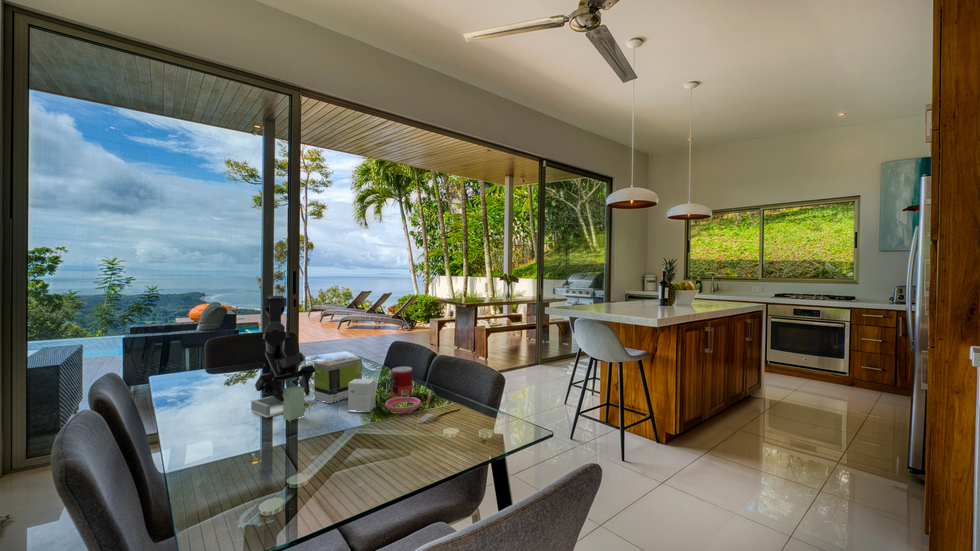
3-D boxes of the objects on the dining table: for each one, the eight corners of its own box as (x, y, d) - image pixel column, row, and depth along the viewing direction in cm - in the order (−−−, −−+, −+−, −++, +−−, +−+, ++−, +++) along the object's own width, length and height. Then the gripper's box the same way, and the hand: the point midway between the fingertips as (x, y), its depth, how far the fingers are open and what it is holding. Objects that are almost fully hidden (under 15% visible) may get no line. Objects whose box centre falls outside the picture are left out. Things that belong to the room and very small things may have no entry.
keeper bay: (251, 411, 149) (251, 400, 149) (280, 404, 157) (280, 393, 157) (266, 417, 143) (266, 406, 143) (295, 409, 152) (295, 398, 152)
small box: (375, 408, 154) (375, 379, 154) (369, 413, 148) (370, 383, 148) (354, 407, 155) (354, 378, 155) (347, 412, 149) (347, 382, 149)
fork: (462, 416, 154) (463, 408, 154) (420, 426, 138) (420, 417, 138) (456, 414, 156) (457, 407, 156) (414, 424, 139) (414, 415, 140)
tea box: (347, 390, 175) (347, 355, 175) (362, 395, 169) (362, 358, 169) (313, 399, 163) (313, 361, 163) (329, 405, 157) (329, 365, 157)
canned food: (415, 394, 171) (415, 367, 171) (405, 400, 163) (405, 371, 163) (398, 392, 173) (399, 365, 173) (388, 398, 166) (388, 370, 166)
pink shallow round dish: (401, 418, 144) (401, 409, 144) (377, 411, 151) (377, 402, 151) (427, 409, 154) (427, 400, 154) (404, 402, 161) (404, 394, 161)
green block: (283, 419, 142) (283, 389, 142) (297, 414, 146) (297, 385, 146) (289, 421, 140) (289, 391, 140) (304, 417, 144) (304, 387, 144)
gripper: (259, 350, 137) (278, 390, 131) (312, 342, 153) (331, 377, 147) (247, 371, 142) (264, 410, 136) (299, 361, 157) (317, 396, 151)
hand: (296, 397), depth 142 cm, fingers open, 9 cm apart
